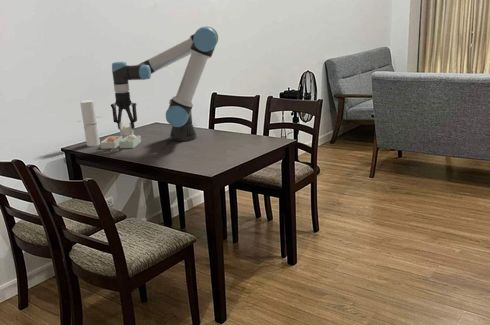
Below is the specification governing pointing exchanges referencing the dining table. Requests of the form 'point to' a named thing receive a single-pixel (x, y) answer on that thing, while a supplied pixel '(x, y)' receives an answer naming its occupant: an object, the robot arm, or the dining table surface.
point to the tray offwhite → (111, 143)
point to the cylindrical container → (90, 123)
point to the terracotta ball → (111, 139)
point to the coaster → (114, 150)
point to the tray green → (130, 144)
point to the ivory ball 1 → (126, 130)
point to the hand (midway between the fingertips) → (127, 134)
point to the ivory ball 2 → (131, 137)
